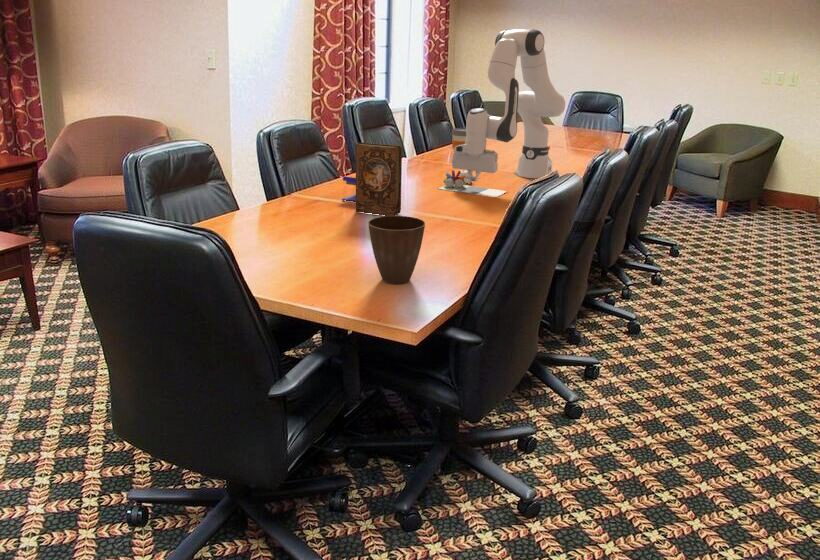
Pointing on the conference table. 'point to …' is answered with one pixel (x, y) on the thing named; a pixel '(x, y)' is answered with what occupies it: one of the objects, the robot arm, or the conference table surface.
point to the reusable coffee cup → (458, 136)
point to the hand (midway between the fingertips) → (473, 181)
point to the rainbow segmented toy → (454, 180)
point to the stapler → (351, 182)
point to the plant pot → (396, 246)
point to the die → (467, 178)
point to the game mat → (475, 190)
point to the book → (378, 178)
